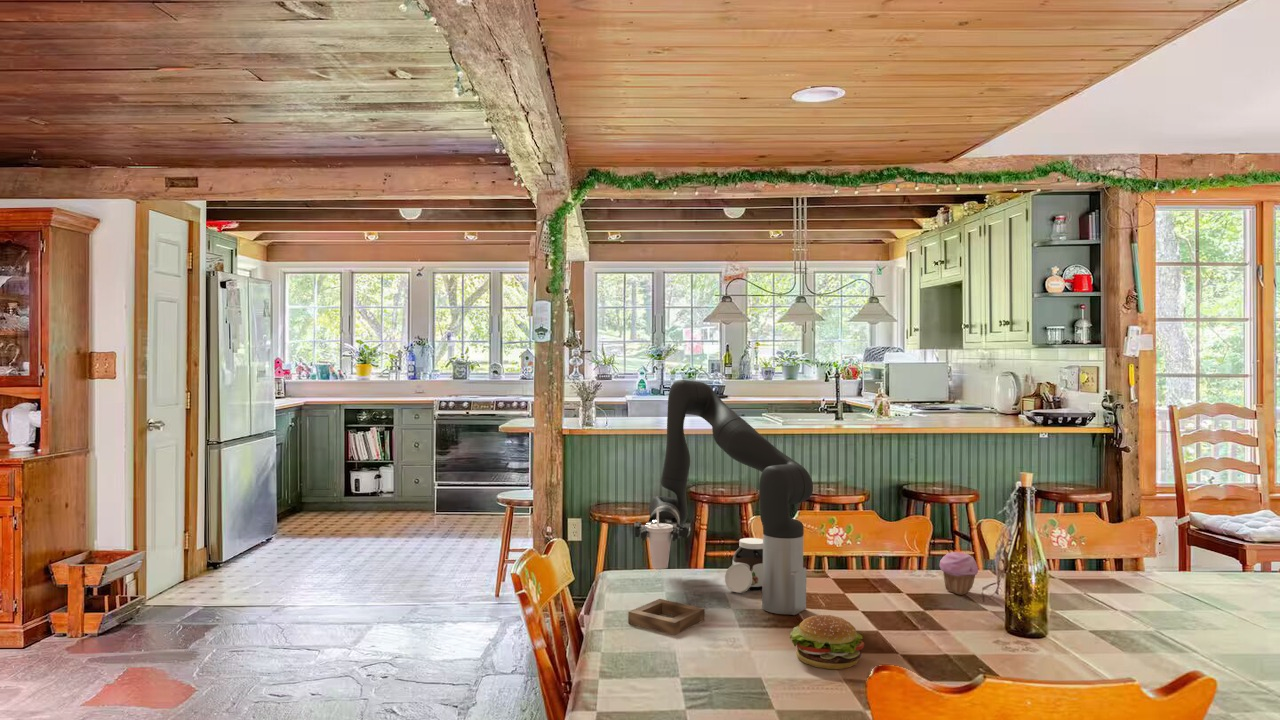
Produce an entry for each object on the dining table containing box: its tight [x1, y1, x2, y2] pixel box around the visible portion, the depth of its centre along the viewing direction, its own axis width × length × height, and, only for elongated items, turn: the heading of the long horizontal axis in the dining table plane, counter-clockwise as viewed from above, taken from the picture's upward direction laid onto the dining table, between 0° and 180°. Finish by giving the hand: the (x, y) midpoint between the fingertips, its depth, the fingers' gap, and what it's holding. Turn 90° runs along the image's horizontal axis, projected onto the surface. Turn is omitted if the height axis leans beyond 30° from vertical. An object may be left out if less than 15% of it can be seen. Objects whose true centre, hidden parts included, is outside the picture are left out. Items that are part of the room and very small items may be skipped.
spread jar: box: [724, 537, 763, 594], centre depth 202 cm, size 12×11×12 cm
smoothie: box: [646, 507, 673, 570], centre depth 188 cm, size 6×6×14 cm
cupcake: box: [939, 551, 979, 596], centre depth 201 cm, size 9×9×10 cm
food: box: [789, 614, 865, 670], centre depth 155 cm, size 14×14×8 cm
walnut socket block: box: [627, 598, 706, 636], centre depth 175 cm, size 12×12×2 cm
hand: (659, 536), depth 186 cm, fingers closed on smoothie, 6 cm apart
